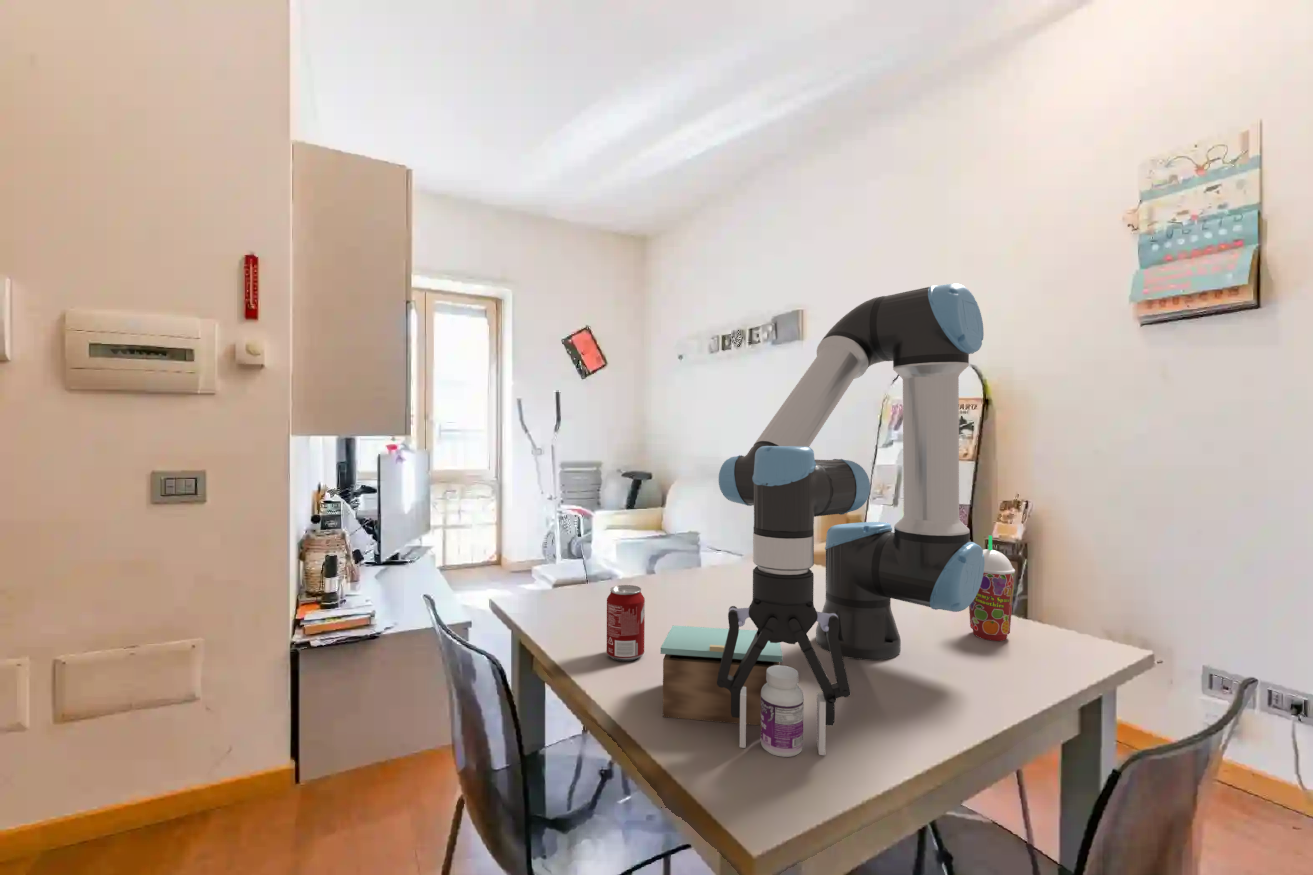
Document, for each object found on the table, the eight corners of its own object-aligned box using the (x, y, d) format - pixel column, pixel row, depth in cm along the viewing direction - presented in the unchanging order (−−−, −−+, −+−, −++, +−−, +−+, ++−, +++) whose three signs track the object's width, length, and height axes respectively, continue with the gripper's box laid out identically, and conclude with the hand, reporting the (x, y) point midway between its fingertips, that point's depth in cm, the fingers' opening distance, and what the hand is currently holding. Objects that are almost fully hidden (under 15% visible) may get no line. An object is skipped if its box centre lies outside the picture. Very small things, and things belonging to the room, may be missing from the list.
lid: (778, 636, 89) (778, 627, 90) (782, 662, 77) (782, 651, 77) (672, 630, 92) (672, 621, 92) (660, 653, 80) (660, 643, 80)
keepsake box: (775, 688, 90) (776, 637, 90) (779, 726, 78) (780, 667, 78) (674, 681, 92) (674, 631, 92) (662, 716, 80) (663, 659, 80)
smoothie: (968, 640, 112) (969, 537, 112) (963, 627, 120) (964, 531, 120) (1018, 646, 109) (1019, 540, 109) (1010, 632, 116) (1010, 533, 116)
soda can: (639, 664, 99) (639, 595, 99) (601, 661, 100) (602, 592, 100) (647, 650, 105) (648, 585, 105) (612, 647, 107) (612, 583, 107)
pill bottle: (755, 736, 75) (755, 662, 75) (795, 734, 76) (795, 661, 76) (766, 759, 70) (767, 680, 70) (809, 757, 70) (810, 679, 70)
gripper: (866, 564, 75) (865, 738, 75) (699, 557, 78) (698, 723, 78) (879, 578, 67) (877, 771, 67) (694, 570, 71) (693, 753, 71)
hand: (781, 745), depth 73 cm, fingers open, 9 cm apart
